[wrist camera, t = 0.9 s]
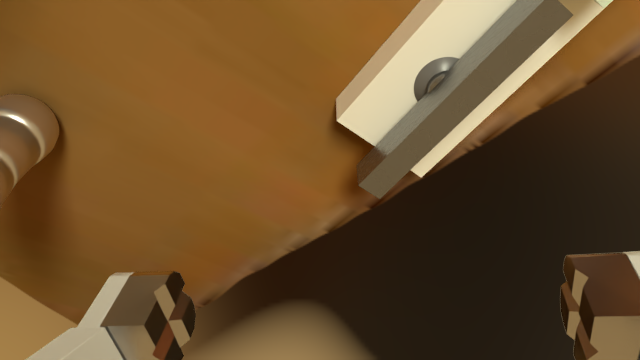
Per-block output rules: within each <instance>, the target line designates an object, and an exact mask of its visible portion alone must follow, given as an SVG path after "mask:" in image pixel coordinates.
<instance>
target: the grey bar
mask: <svg viewBox="0 0 640 360" xmlns="http://www.w3.org/2000/svg"><path fill="white" fill-rule="evenodd" d="M572 16H573V14H572V13H571V12H570V11H569V10H568V9H567V8H566V7H565V6H564V5H563V4H562V3H561V2H560V1H558V0H517V1H516V2H515V3H514V4H513V5H512V6H511V7H510V8H509V9H508V10H507V11H506V12H505V13H504V14H503V15H502V16H501V17H500V18H499V19H498V20H497V21H496V22H495V23H494V24H493V25H492V26H491V27H490V28H489V29H488V30H487V31H486V32H485V33H484V34H483V36H482V37H481V38H480V39H479V40H478V41H477V42H476V43H475V44H474V45H473V46H472V47H471V48H470V49H469V50H468V51H467V52H466V53H465V54H464V55H463V56H462V57H461V58H460V59H459V60H458V61H457V62H456V63H455V64H454V65H453V66H452V67H451V68H450V70H449V71H442V72H439V73H437V74H435V75H434V76H433V77H432V78H431V79H430V81H429V82H428V85H427V93H426V94H425V95H424V96H423V97H422V98H421V99H420V100H419V101H418V102H417V103H416V105H415V106H414V107H413V108H412V109H411V110H410V111H409V112H408V113H407V114H406V115H405V116H404V117H403V118H402V119H401V120H400V121H399V122H398V123H397V124H396V125H395V126H394V127H393V128H392V129H391V130H390V131H389V132H388V133H387V134H386V135H385V136H384V137H383V139H382V140H381V141H380V142H379V143H378V144H377V145H376V146H375V147H374V148H373V149H372V150H371V151H370V152H369V153H368V154H367V155H366V156H365V157H364V158H363V159H362V160H361V161H360V162H359V163H358V164H357V177H358V186H360V187H361V188H363V189H365V190H366V191H368V192H369V193H371V194H373V195H374V196H376V197H377V198H379V199H380V198H381V197H382V196H383V195H385V194H386V193H387V192H388V191H389V190H390V189H391V188H392V187H393V186H394V185H395V184H396V183H397V182H398V181H399V180H400V179H401V178H402V177H404V176H405V175H406V174H407V173H408V172H409V171H410V170H411V169H412V168H413V167H414V166H415V165H416V164H417V163H418V162H419V161H420V160H421V159H422V158H424V157H425V156H426V155H427V154H428V153H429V152H430V151H431V150H432V149H433V148H434V147H435V146H436V145H437V144H438V143H439V142H440V141H441V140H443V139H444V138H445V137H446V136H447V135H448V134H449V133H450V132H451V131H452V130H453V129H454V128H455V127H456V126H457V125H458V124H459V123H460V122H461V121H463V120H464V119H465V118H466V117H467V116H468V115H469V114H470V113H471V112H472V111H473V110H474V109H475V108H476V107H477V106H478V105H479V104H480V103H482V102H483V101H484V100H485V99H486V98H487V97H488V96H489V95H490V94H491V93H492V92H493V91H494V90H495V89H496V88H497V87H498V86H499V85H501V84H502V83H503V82H504V81H505V80H506V79H507V78H508V77H509V76H510V75H511V74H512V73H513V72H514V71H515V70H516V69H517V68H518V67H519V66H521V65H522V64H523V63H524V62H525V61H526V60H527V59H528V58H529V57H530V56H531V55H532V54H533V53H534V52H535V51H536V50H537V49H538V48H540V47H541V46H542V45H543V44H544V43H545V42H546V41H547V40H548V39H549V38H550V37H551V36H552V35H553V34H554V33H555V32H556V31H557V30H558V29H560V28H561V27H562V26H563V25H564V24H565V23H566V22H567V21H568V20H569V19H570V18H571V17H572Z"/></svg>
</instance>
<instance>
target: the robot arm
mask: <svg viewBox="0 0 640 360" xmlns="http://www.w3.org/2000/svg"><path fill="white" fill-rule="evenodd" d="M563 272H564V274H565V277H566V280H567V281H566V282H565V283H564V284H563V285H562V286H561V293H560V304H561V305H560V306H561V315H562V319H563V324H564V327H565V330H566V333H567V334H568V335H569V336H570V337H571V338H573V339H574V340H575V343H574V350H573V354H574V357H575V360H640V251H635V252H623V253H601V254H580V255H566V257H565V260H564V266H563ZM184 285H185V283H184V280H183V278H182V276H181V274H180V273H178V272H175V271H162V272H131V273H114V274H113V275H111V276H110V277H109V278H108V280H107V281H106V283H105V284H104V286H103V287H102V289H101V291H100V292H99V294H98V295H97V297H96V298H95V300H94V301H93V303H92V305H91V306H90V308H89V309H88V311H87V312H86V314H85V316H84V317H83V319H82V320H81V322H80V323H79V325H78V327H77V328H70V329H69V330H67V331H66V332H64V333H63V334H61V335H60V336H58V337H57V338H55V339H54V340H53V341H51V342H50V343H48V344H47V345H45V346H44V347H43V348H41V349H40V350H38V351H37V352H36V353H34V354H33V355H31V356H30V357H28V358H27V359H26V360H182V358H183V356H184V355H183V352H182V350H181V346H183V345H184V344H185V343H186V342H187V341H188V340H190V338H191V336H192V333H193V330H194V327H195V318H196V313H195V307H194V304H193V301H192V299H191V297H190V296H188V295H187V294H186V293H184V292H183V291H182V289H183V287H184Z"/></svg>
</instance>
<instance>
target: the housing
mask: <svg viewBox="0 0 640 360" xmlns="http://www.w3.org/2000/svg"><path fill="white" fill-rule="evenodd" d="M516 1H517V0H421V1H420V2H419V3H418V4H417V6H416V7H415V8H414V9H413V10H412V11H411V13H410V14H409V15H408V16H407V17H406V18H405V20H404V21H403V22H402V23H401V24H400V25H399V27H398V28H397V29H396V30H395V31H394V32H393V34H392V35H391V36H390V37H389V38H388V39H387V40H386V42H385V43H384V44H383V45H382V46H381V47H380V49H379V50H378V51H377V52H376V53H375V54H374V56H373V57H372V58H371V59H370V60H369V61H368V63H367V64H366V65H365V66H364V67H363V68H362V70H361V71H360V72H359V73H358V74H357V75H356V76H355V78H354V79H353V80H352V81H351V82H350V83H349V85H348V86H347V87H346V88H345V89H344V90H343V92H342V93H341V94H340V95H339V96H338V97H337V99H336V117H337V121H338V122H339V123H341V124H342V125H344V126H345V127H346V128H348V129H349V130H351V131H352V132H354V133H355V134H357V135H358V136H360V137H361V138H363V139H364V140H366V141H367V142H369V143H370V144H372V145H373V146H376V145H377V144H378V143H379V142H380V141H381V140H382V139H383V137H384V136H385V135H386V134H387V133H388V132H389V131H390V130H391V129H392V128H393V127H394V126H395V125H396V124H397V123H398V122H399V121H400V120H401V119H402V118H403V117H404V116H405V115H406V114H407V113H408V112H409V111H410V110H411V109H412V108H413V107H414V106H415V105H416V103H417V102H418V101H419V100H420V99H421V98H422V97H423V96H424V95H425V94H426V93H427V85H428V82H429V81H430V79H431V78H432V77H433V76H434V75H435V74H437V73H439V72H442V71H449V70H450V68H451V67H452V66H453V65H454V64H455V63H456V62H457V61H458V60H459V59H460V58H461V57H462V56H463V55H464V54H465V53H466V52H467V51H468V50H469V49H470V48H471V47H472V46H473V45H474V44H475V43H476V42H477V41H478V40H479V39H480V38H481V37H482V36H483V34H484V33H485V32H486V31H487V30H488V29H489V28H490V27H491V26H492V25H493V24H494V23H495V22H496V21H497V20H498V19H499V18H500V17H501V16H502V15H503V14H504V13H505V12H506V11H507V10H508V9H509V8H510V7H511V6H512V5H513V4H514V3H515V2H516ZM558 1H560V2H561V3H562V4H563V5H564V6H565V7H566V8H567V9H568V10H569V11H570V12H571V13H572V14H573V16H572V17H571V18H570V19H569V20H568V21H567V22H566V23H565V24H564V25H563V26H562V27H561V28H560V29H558V30H557V31H556V32H555V33H554V34H553V35H552V36H551V37H550V38H549V39H548V40H547V41H546V42H545V43H544V44H543V45H542V46H541V47H540V48H538V49H537V50H536V51H535V52H534V53H533V54H532V55H531V56H530V57H529V58H528V59H527V60H526V61H525V62H524V63H523V64H522V65H521V66H519V67H518V68H517V69H516V70H515V71H514V72H513V73H512V74H511V75H510V76H509V77H508V78H507V79H506V80H505V81H504V82H503V83H502V84H501V85H499V86H498V87H497V88H496V89H495V90H494V91H493V92H492V93H491V94H490V95H489V96H488V97H487V98H486V99H485V100H484V101H483V102H482V103H480V104H479V105H478V106H477V107H476V108H475V109H474V110H473V111H472V112H471V113H470V114H469V115H468V116H467V117H466V118H465V119H464V120H463V121H461V122H460V123H459V124H458V125H457V126H456V127H455V128H454V129H453V130H452V131H451V132H450V133H449V134H448V135H447V136H446V137H445V138H444V139H443V140H441V141H440V142H439V143H438V144H437V145H436V146H435V147H434V148H433V149H432V150H431V151H430V152H429V153H428V154H427V155H426V156H425V157H424V158H422V159H421V160H420V161H419V162H418V163H417V164H416V165H415V166H414V167H413V168H412V169H411V171H412V172H414V173H415V174H417V175H418V176H420V177H422V176H424V175H425V174H426V173H427V172H428V171H429V170H430V169H431V168H432V167H433V166H434V165H435V164H437V163H438V162H439V161H440V160H441V159H442V158H443V157H444V156H445V155H446V154H447V153H448V152H450V151H451V150H452V149H453V148H454V147H455V146H456V145H457V144H458V143H459V142H460V141H461V140H463V139H464V138H465V137H466V136H467V135H468V134H469V133H470V132H471V131H472V130H473V129H474V128H475V127H477V126H478V125H479V124H480V123H481V122H482V121H483V120H484V119H485V118H486V117H487V116H488V115H490V114H491V113H492V112H493V111H494V110H495V109H496V108H497V107H498V106H499V105H500V104H501V103H503V102H504V101H505V100H506V99H507V98H508V97H509V96H510V95H511V94H512V93H513V92H514V91H516V90H517V89H518V88H519V87H520V86H521V85H522V84H523V83H524V82H525V81H526V80H527V79H528V78H530V77H531V76H532V75H533V74H534V73H535V72H536V71H537V70H538V69H539V68H540V67H541V66H543V65H544V64H545V63H546V62H547V61H548V60H549V59H550V58H551V57H552V56H553V55H554V54H556V53H557V52H558V51H559V50H560V49H561V48H562V47H563V46H564V45H565V44H566V43H567V42H569V41H570V40H571V39H572V38H573V37H574V36H575V35H576V34H577V33H578V32H579V31H580V30H581V29H583V28H584V27H585V26H586V25H587V24H588V23H589V22H590V21H591V20H592V19H593V18H594V17H596V16H597V15H598V14H599V13H600V12H601V11H602V10H603V9H604V8H603V7H601V6H600V5H599V4H598V3H596V2H595V1H594V0H558ZM611 2H612V1H611ZM611 2H610V3H611ZM610 3H609V4H610ZM609 4H608V5H609Z"/></svg>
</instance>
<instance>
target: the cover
mask: <svg viewBox="0 0 640 360" xmlns="http://www.w3.org/2000/svg"><path fill="white" fill-rule="evenodd" d="M594 1H595V2H596V3H598V4H599V5H600V6H601V7H603V8H605V7H606V6H607V5H608V4H609V3H610V2H611V1H613V0H594Z"/></svg>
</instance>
